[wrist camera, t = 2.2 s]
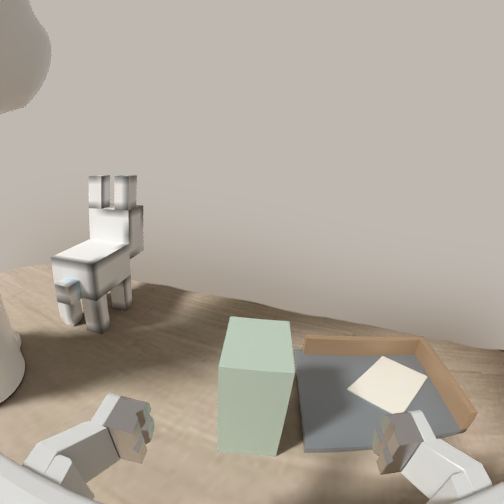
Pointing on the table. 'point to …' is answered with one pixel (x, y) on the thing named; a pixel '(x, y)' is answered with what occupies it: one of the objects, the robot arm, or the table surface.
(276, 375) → the sage block
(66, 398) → the table surface
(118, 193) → the toy llama
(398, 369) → the tray
